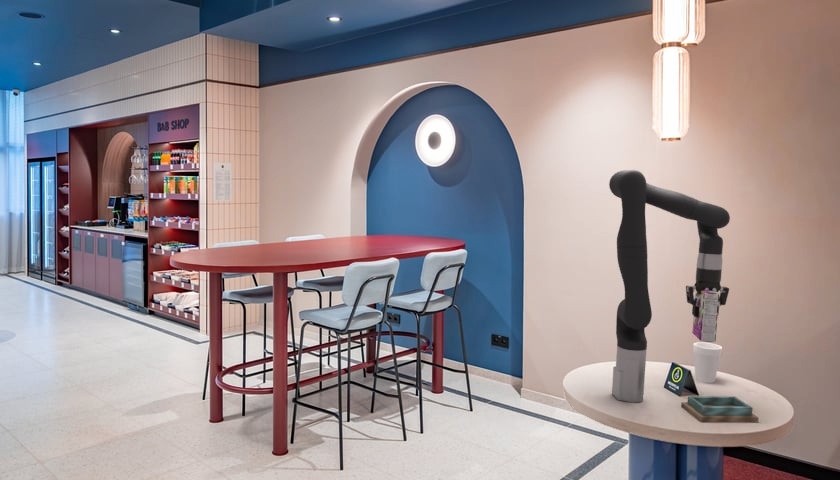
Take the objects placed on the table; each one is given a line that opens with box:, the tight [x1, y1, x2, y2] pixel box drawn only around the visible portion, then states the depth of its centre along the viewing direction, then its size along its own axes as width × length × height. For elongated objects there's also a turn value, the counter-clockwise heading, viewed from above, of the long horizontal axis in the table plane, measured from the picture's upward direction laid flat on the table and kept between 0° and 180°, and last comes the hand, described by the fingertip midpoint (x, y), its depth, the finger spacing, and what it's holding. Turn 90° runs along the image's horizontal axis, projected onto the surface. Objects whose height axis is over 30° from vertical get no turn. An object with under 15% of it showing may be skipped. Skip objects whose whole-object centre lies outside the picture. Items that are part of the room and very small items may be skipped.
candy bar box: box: [691, 289, 720, 343], centre depth 200 cm, size 11×5×16 cm, turn 169°
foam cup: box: [692, 341, 723, 384], centre depth 219 cm, size 10×9×13 cm
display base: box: [680, 395, 759, 423], centre depth 187 cm, size 18×12×4 cm, turn 93°
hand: (705, 316), depth 200 cm, fingers closed on candy bar box, 5 cm apart
